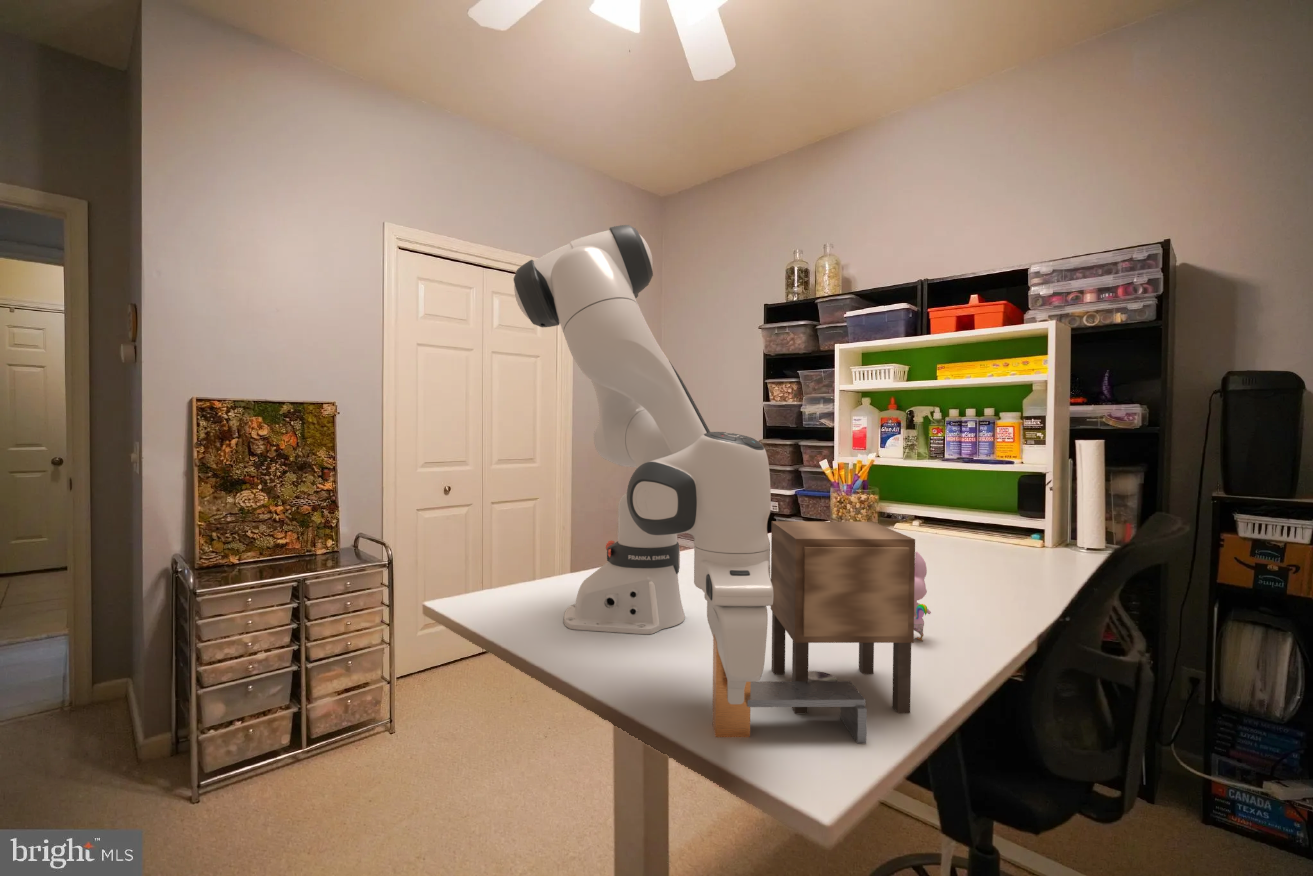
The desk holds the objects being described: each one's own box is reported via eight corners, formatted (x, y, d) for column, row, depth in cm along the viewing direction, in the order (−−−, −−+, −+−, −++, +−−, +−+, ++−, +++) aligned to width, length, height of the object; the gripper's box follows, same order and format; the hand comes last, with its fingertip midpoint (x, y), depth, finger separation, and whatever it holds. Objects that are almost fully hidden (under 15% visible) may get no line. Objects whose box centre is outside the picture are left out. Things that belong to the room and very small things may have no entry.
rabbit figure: (922, 635, 105) (924, 549, 104) (943, 647, 99) (944, 556, 99) (888, 636, 104) (890, 549, 104) (907, 649, 98) (909, 557, 98)
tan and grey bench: (717, 744, 68) (718, 647, 68) (711, 718, 74) (711, 629, 74) (866, 743, 69) (867, 647, 68) (848, 718, 74) (849, 629, 74)
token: (804, 701, 79) (805, 686, 79) (795, 685, 84) (795, 671, 84) (842, 701, 80) (842, 686, 80) (830, 685, 85) (830, 671, 84)
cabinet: (795, 716, 75) (797, 539, 74) (769, 669, 89) (771, 521, 89) (914, 716, 75) (917, 540, 75) (870, 669, 90) (872, 521, 89)
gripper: (696, 552, 81) (695, 654, 81) (715, 594, 61) (713, 730, 61) (743, 552, 81) (742, 654, 81) (777, 594, 61) (775, 730, 61)
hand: (730, 687), depth 71 cm, fingers open, 6 cm apart
